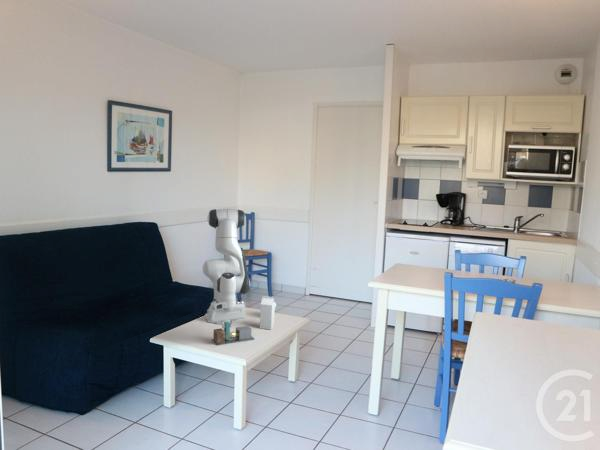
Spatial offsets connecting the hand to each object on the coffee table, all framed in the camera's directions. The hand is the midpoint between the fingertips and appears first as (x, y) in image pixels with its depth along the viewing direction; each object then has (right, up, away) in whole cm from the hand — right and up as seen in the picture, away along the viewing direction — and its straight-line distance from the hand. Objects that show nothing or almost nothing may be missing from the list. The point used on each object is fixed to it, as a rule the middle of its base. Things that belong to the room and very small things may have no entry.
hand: (226, 327), depth 262 cm
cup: (+20, -3, +45) cm, 50 cm away
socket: (-4, -8, -1) cm, 9 cm away
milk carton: (+20, -6, +26) cm, 34 cm away
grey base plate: (+3, -8, +3) cm, 8 cm away
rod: (+2, -7, +2) cm, 7 cm away
